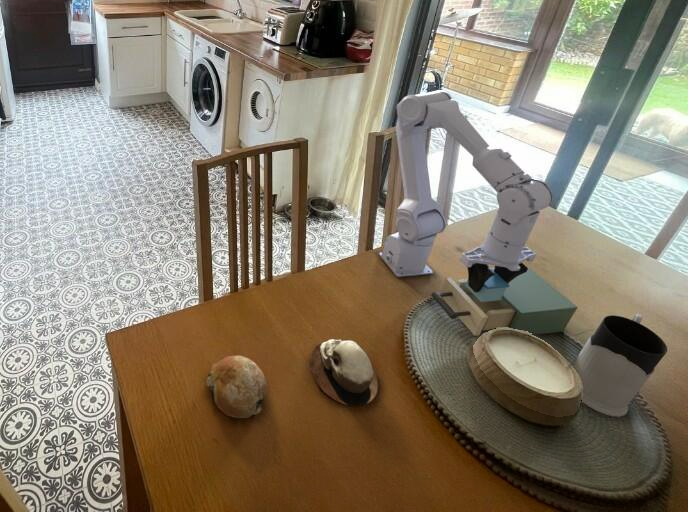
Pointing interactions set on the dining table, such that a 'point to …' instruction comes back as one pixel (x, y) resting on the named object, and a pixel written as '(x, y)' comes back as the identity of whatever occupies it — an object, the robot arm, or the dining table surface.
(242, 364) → the bread roll
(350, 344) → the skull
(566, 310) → the cabinet
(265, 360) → the dining table surface
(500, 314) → the drawer
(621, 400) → the black and white mug
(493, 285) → the light blue block
